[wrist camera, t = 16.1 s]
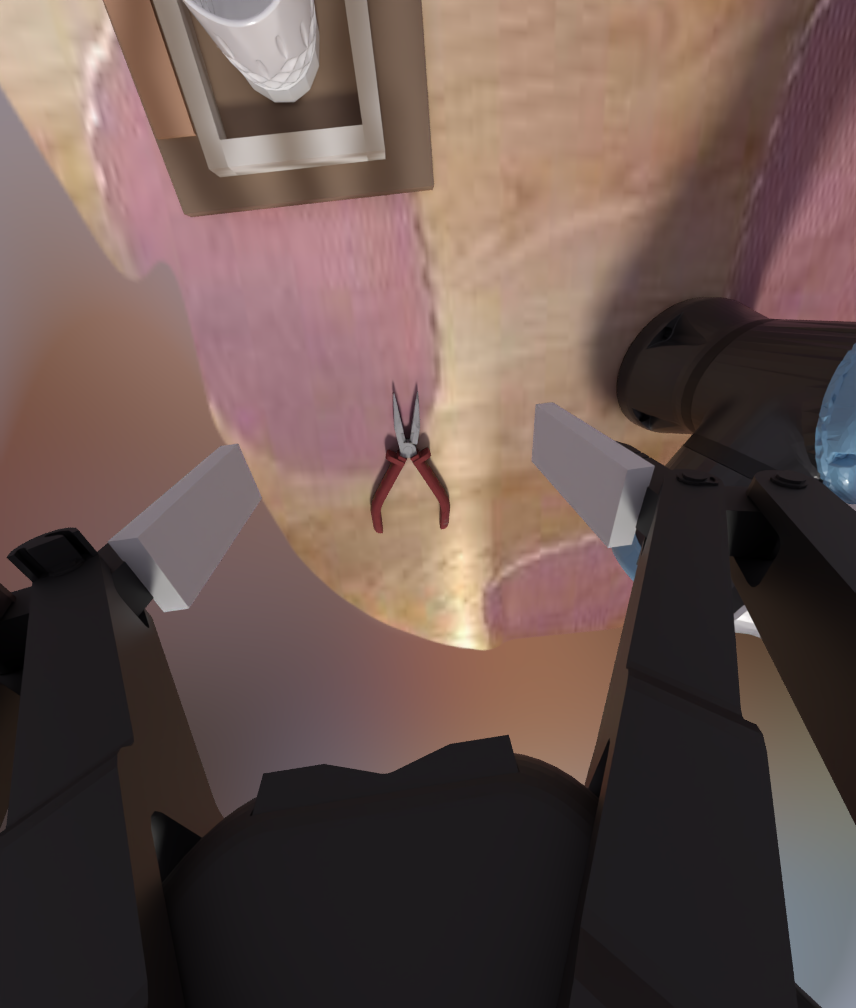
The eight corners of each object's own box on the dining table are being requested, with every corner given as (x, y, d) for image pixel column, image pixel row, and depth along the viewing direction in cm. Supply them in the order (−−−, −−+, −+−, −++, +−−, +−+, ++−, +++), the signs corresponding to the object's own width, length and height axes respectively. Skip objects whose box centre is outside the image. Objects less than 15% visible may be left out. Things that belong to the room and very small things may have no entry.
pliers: (451, 388, 40) (455, 393, 38) (448, 522, 51) (450, 532, 49) (357, 391, 39) (355, 396, 37) (373, 526, 50) (372, 537, 48)
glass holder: (405, -200, 20) (407, -276, 18) (432, 189, 30) (436, 178, 27) (46, -170, 20) (-8, -245, 17) (191, 217, 29) (171, 208, 27)
